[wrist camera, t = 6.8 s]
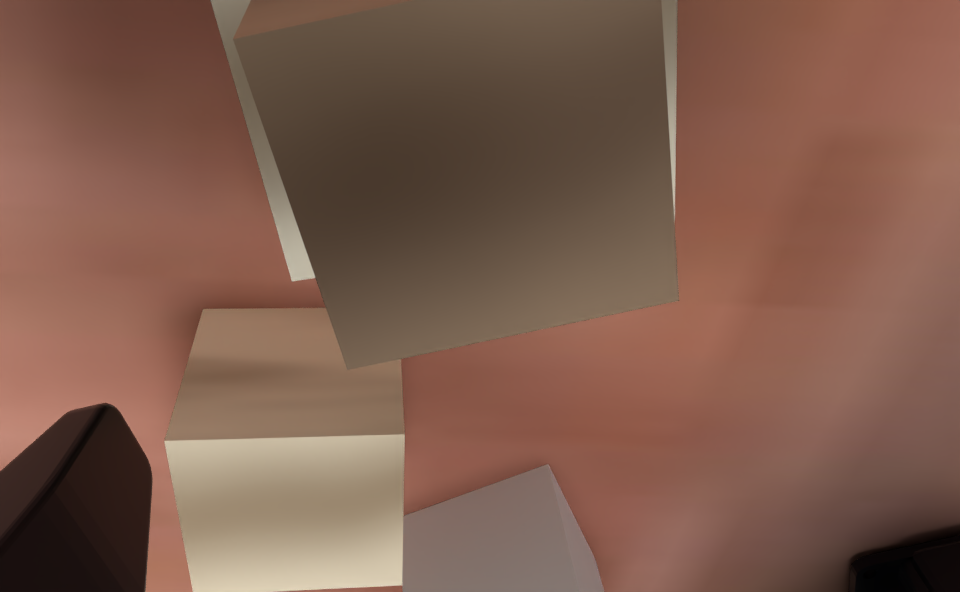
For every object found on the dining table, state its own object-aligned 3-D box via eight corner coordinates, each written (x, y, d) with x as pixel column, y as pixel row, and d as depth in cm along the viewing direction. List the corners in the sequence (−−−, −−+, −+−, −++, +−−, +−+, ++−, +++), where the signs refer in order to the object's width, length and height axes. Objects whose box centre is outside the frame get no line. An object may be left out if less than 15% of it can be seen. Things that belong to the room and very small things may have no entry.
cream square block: (626, 144, 21) (674, 221, 18) (304, 194, 21) (291, 281, 17) (617, -237, 16) (680, -229, 13) (207, -177, 16) (165, -154, 13)
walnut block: (602, 160, 17) (678, 300, 13) (353, 213, 17) (347, 370, 13) (572, -115, 14) (658, -53, 10) (274, -51, 14) (232, 39, 10)
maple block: (397, 445, 25) (402, 585, 21) (223, 450, 25) (193, 595, 20) (398, 305, 22) (404, 434, 18) (203, 307, 22) (164, 440, 18)
